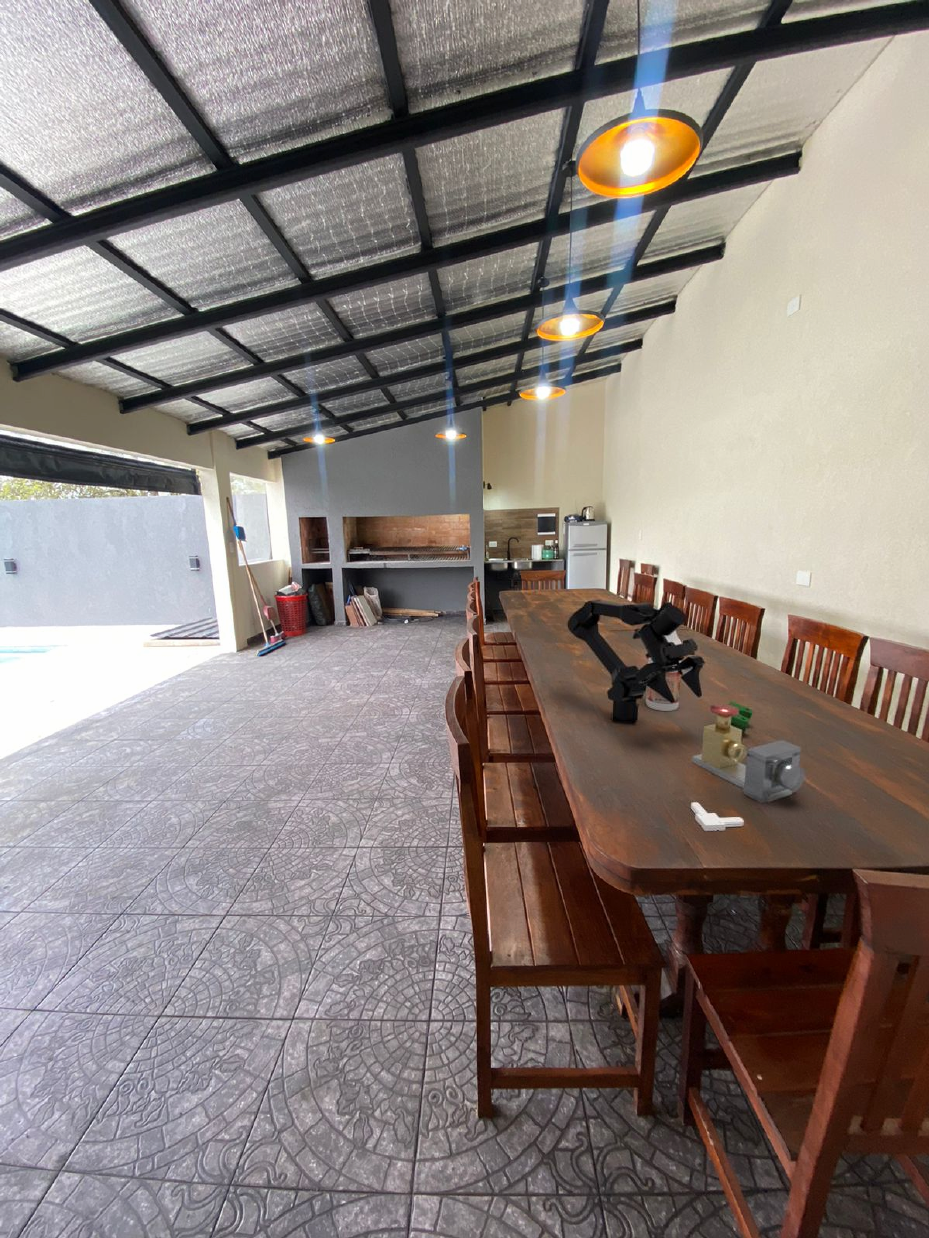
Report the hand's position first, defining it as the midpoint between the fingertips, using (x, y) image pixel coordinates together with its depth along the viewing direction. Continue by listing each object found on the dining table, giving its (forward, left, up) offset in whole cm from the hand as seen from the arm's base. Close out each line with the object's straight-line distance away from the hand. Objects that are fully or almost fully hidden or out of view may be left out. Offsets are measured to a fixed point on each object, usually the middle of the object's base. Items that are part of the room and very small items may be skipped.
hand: (687, 699), depth 123 cm
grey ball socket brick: (+12, -13, -13) cm, 22 cm away
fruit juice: (-5, +29, -13) cm, 32 cm away
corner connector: (+5, -31, -13) cm, 34 cm away
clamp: (+13, +18, -13) cm, 26 cm away
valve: (+8, -9, -11) cm, 16 cm away
